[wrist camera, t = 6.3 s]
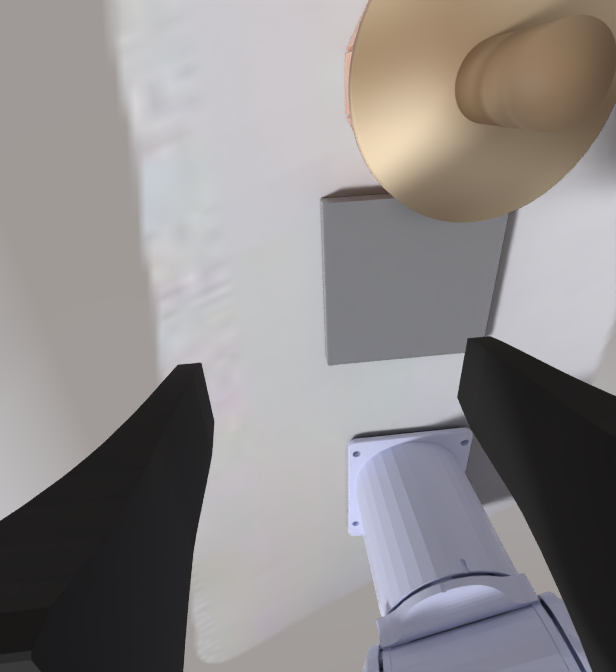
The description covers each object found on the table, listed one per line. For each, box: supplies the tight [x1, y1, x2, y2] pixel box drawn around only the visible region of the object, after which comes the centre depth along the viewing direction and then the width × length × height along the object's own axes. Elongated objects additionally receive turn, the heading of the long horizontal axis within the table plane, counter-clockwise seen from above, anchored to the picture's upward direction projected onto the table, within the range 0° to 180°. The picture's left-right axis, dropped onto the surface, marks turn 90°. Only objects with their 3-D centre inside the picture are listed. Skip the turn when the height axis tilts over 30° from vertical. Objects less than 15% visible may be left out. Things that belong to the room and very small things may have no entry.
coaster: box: [320, 194, 509, 365], centre depth 20 cm, size 8×8×1 cm
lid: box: [348, 0, 616, 223], centre depth 12 cm, size 9×9×5 cm
